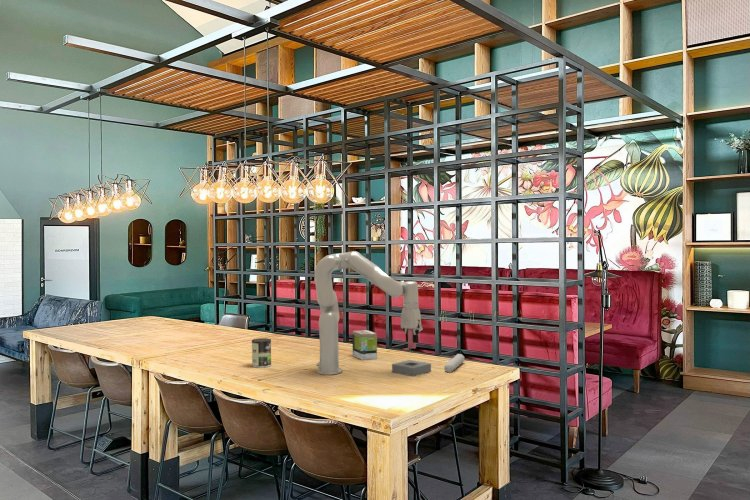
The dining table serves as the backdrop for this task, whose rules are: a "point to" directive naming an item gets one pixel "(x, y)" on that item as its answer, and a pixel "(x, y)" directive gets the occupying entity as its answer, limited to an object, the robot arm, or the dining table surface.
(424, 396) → the dining table surface
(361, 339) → the tea box
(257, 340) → the coffee can
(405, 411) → the dining table surface
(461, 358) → the tube
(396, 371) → the socket block
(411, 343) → the peg
